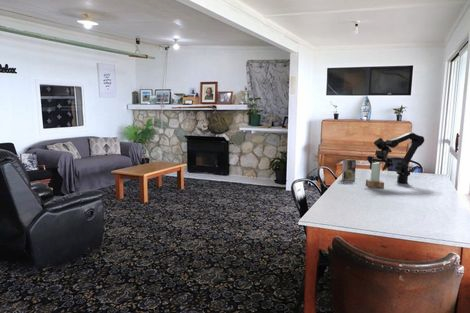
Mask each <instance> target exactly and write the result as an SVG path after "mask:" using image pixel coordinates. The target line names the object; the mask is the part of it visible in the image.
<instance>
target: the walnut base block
mask: <svg viewBox="0 0 470 313" xmlns="http://www.w3.org/2000/svg"><path fill="white" fill-rule="evenodd" d="M365 186H367V187H368V188H372V189H384V188H385V182H384V181H382V180H381V179H379V181H378V182H374V181H371V178H370V179H368V178H367V179H366V180H365Z"/></svg>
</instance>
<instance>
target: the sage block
mask: <svg viewBox="0 0 470 313" xmlns="http://www.w3.org/2000/svg"><path fill="white" fill-rule="evenodd" d="M381 163H382V162H374V163H372V168H371V169H370V170H371V172H370V180H371V181H374V182H378V181H379V180H381V179H380V177H381V165H382V164H381Z"/></svg>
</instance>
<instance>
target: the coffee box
mask: <svg viewBox="0 0 470 313" xmlns="http://www.w3.org/2000/svg"><path fill="white" fill-rule="evenodd" d="M356 165H357V160H356V159H353V158H352V159H350V158H343V159H342V169H341V170H342V171H341V173H342V174H341V179H342V181H356V170H357V169H356Z"/></svg>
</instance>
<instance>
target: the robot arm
mask: <svg viewBox="0 0 470 313" xmlns="http://www.w3.org/2000/svg"><path fill="white" fill-rule="evenodd" d="M408 140H410V147H409V148H408V150H407V151H406V154H405V156H404V157H403V159H402V160H401V161H398V162H397V163H396V165H395V161H394V159H393V157H392V158H390V157H388V155H389V153H392V149H394V148H396V147H398V145H399V144H401V143H402V142H405V141H408ZM424 143H425V138H424V136H422V135H418V134H417V133H414V132H413V131H412V132H411V131H410V132H406V133H404V134H402V135H400V136H398V137H395V138H389V139H386V140H384V139H383V137H382V138H381V137H379V138H377V139H376V140H375V141H373V145H374V146H375V147H376V148H377V150H375V152H374V153H375V154H374V155H375V156H373V155H368V156H367V157H366V160H367V161H368V163H369V169H370V170H371V168H372V163H376V162H377V163H385V164H384V165H383V167H382V172H384V171H385V170H387V169H389V168H391V167H394V166H395V169H394V170H395V172H396V175H397V177H396V182H397V183H399V184H409V182H408V181H409V176H410V175H411V172H410V170H409V164H410V162H411V160H412V158H413V156H414V155H415V153H416V152H417V150H418V148H420V147H422V146H423V144H424ZM375 157H376V158H375Z"/></svg>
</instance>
